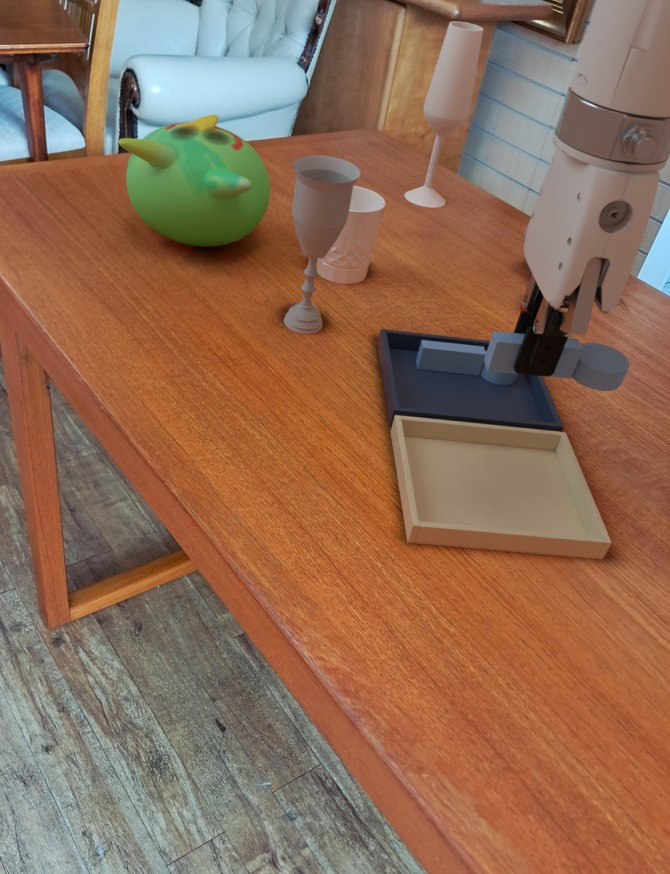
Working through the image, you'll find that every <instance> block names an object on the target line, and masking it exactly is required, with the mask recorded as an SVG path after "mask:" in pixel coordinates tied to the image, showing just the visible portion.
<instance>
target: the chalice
mask: <svg viewBox="0 0 670 874" xmlns="http://www.w3.org/2000/svg"><path fill="white" fill-rule="evenodd" d="M292 167H293V171H294V173H295V183H294V189H293V190H294V191H293V200H292V207H291V215H292V222H293V225H294V232H295V236H296V239H297V241H298V242H297V243H298V245H299V247H300V251H301V253H302V254H303V255H304V256H306V257H308V258H307V259H308V263H307V266H306V268H305V269H304V270H303V274H304V275H305V281H304V283H303V284H301V286H300V290H302V293H303V294H302V296H303V297H302V299H301V301H299V302H296V303H294V304H293V305H291V306H290V307H289V309H288V311H287V312H286V314H285V315H284V318H283V322H281V323H280V326H281V327H282V325H283V324H284V325H285V326H286V328H288V329H289V330H291V331H293V332H296V333H300V334H315V333H317V332H319V331H321V330H322V328H323V326H324V325H323V317H322V316H321V315H322V314H321V311H320V310H319V308H318V307H317V306H316V305H314V304H313V303H312V296H313V293H315V292H316V291H317V287H316V286H315V283H314V281H315V279H316V277H317V276H319V275H318V272H317V270H316V262H317V260H318V258H322V257H324V256H326V254H327V253H328V252H329V250H330V249H331V247H332V246H333V245H334V243H335V242H336V240H337V239H338V237H339V235H340V233H341V231H342V230H343V228H344V226H345V224H346V222H347V219H348V213H349V208H350V202H351V196H352V191H353V186H355V184H356V182H357V181H358V180H359V178H360V177H361V170H360V169H359V167H358V166H356V165H355V163H352V162H350V161H348V160H345V159H343V158H339V157H335V156H331V155H323V154H322V155H321V154H313V155H312V154H311V155H305V156H304V155H303V156H300V157H299V158H296V159H295V160H294V161H293V163H292ZM282 323H283V324H282Z"/></svg>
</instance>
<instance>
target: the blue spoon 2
mask: <svg viewBox="0 0 670 874" xmlns="http://www.w3.org/2000/svg"><path fill="white" fill-rule="evenodd" d="M524 336H525V334H519V333H514V332H507V331H496V330H493V331H492V334H491V338H490V340H489V341H490V343H489V346H488V349H487V353H486V356H485V359H484V362H485V365H486V368H487V371H491V372H502V373H513V374H517V373H516V372H515V370H514V364H515V361H516V358H517V356H518V353H519V350H520V347H521V344H522V341H523V339H524ZM629 369H630V360H629V359H628V357H627V356H626V355H625V354H624V353H622V352H621V351H620V350H617V349H616V348H614V347H612V346H609V345H607V344H603V343H597V342H584V343H581V342H580V341H579V339H578V338H572V337H568V339H567V342H566V344H565V347H564V349H563V352H562V354H561V357H560V359H559V362H558V364H557V367H556V369H555V372H554V374H553V375H552V376H548V377H547V378H558V379H559V378H560V379H569V380H570V379H573V380H574V381H575V382H576V383H578V384H580V385H581V386H583V387H586V388H588V389H591V390H595V391H601V392H610V391H611V392H612V391H615V390H617V389H618V388H620V387H621V385H622V384H623V381H624V379H625V377H626V375H627V373H628V371H629ZM524 375H525V374H524Z"/></svg>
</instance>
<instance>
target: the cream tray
mask: <svg viewBox="0 0 670 874" xmlns="http://www.w3.org/2000/svg"><path fill="white" fill-rule="evenodd" d="M390 428H391V429H390V439H391V443H392V450H393V456H394V457H393V458H394V463H395V471H396V476H397V483H398V489H399V495H400V502H401V511H402V515H403V522H404V529H405V534H406V535H405V537H406V541H407V543H409V544H418V545H419V544H420V545H421V544H422V545H430V546H431V545H432V546H444V547H455V548H466V549H476V550H477V549H478V550H488V551H489V550H490V551H500V552H511V553H512V552H513V553H522V554H523V553H525V554H535V555H547V556H559V557H572V558H583V559H594V560H603V559H604V558H605V556H606V554H607V553H608V550H609V549H610V547H611V545H612V543H613V542H612V539H611V537H610V534H609V533H608V530H607V528H606V525H605V523H604V520H603V518H602V516H601V514H600V511H599V508H598V507H597V504H596V502H595V499H594V496H593V493H592V492H591V489H590V487H589V484H588V482H587V480H586V478H585V475H584V472H583V470H582V468H581V465H580V463H579V461H578V458H577V456H576V453H575V451H574V448H573V446H572V444H571V442H570V439H569V436H568V434H567V432H566V431H562V432H558V431H548V430H538V429H528V428H518V427H508V426H499V425H489V424H479V423H469V422H459V421H449V420H439V419H429V418H419V417H409V416H399V415H395V417H394V421H393V424H392V427H390Z"/></svg>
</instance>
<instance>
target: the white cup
mask: <svg viewBox="0 0 670 874" xmlns="http://www.w3.org/2000/svg"><path fill="white" fill-rule="evenodd" d="M386 204H387V203H386V200H385V199H384V197H383V196H381V194H379V193H377V192H376V191H373V190H372V189H369V188H365V187H363V186H358V185H353V191H352V196H351V202H350V208H349V213H348V219H347V222H346V224H345V226H344V228H343V230H342V231H341V233H340V235H339V237H338V239H337V240H336V242H335V243H334V245H333V246H332V247H331V249H330V250H329V252H328V253H327V254H326V256H324V257H322V258H318V260H317V262H316V270H317V272H318V275H317V276H320V277H321V278H322V279H324V280H326V281H329V282H331V283H334V284H335V283H336V284H341V285H349V284H350V285H355V284H358V283H360V282H364V280H365V279H366V277H367V275H368V271H369V267H370V262H371V261H372V258H373V253H374V251H375V247H376V243H377V240H378V236H379V232H380V228H381V223H382V219H383V215H384V212H385V209H386Z"/></svg>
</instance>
